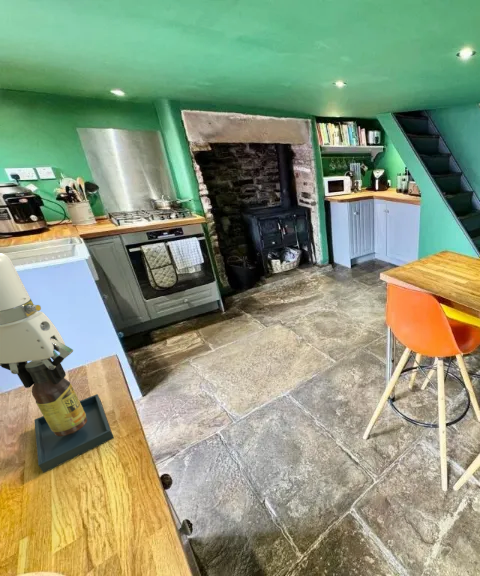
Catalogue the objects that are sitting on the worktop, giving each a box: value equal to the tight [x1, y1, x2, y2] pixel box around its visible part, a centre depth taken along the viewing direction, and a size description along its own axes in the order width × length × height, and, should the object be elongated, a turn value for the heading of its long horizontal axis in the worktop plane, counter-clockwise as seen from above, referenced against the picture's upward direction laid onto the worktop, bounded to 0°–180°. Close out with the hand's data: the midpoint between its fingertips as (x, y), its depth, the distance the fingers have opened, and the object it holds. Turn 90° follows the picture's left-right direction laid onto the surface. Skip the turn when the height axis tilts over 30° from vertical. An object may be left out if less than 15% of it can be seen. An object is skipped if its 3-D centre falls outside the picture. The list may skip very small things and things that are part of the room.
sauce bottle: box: [25, 358, 87, 436], centre depth 71 cm, size 6×6×20 cm
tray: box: [34, 393, 115, 473], centre depth 76 cm, size 18×12×2 cm
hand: (46, 381), depth 69 cm, fingers closed on sauce bottle, 4 cm apart
